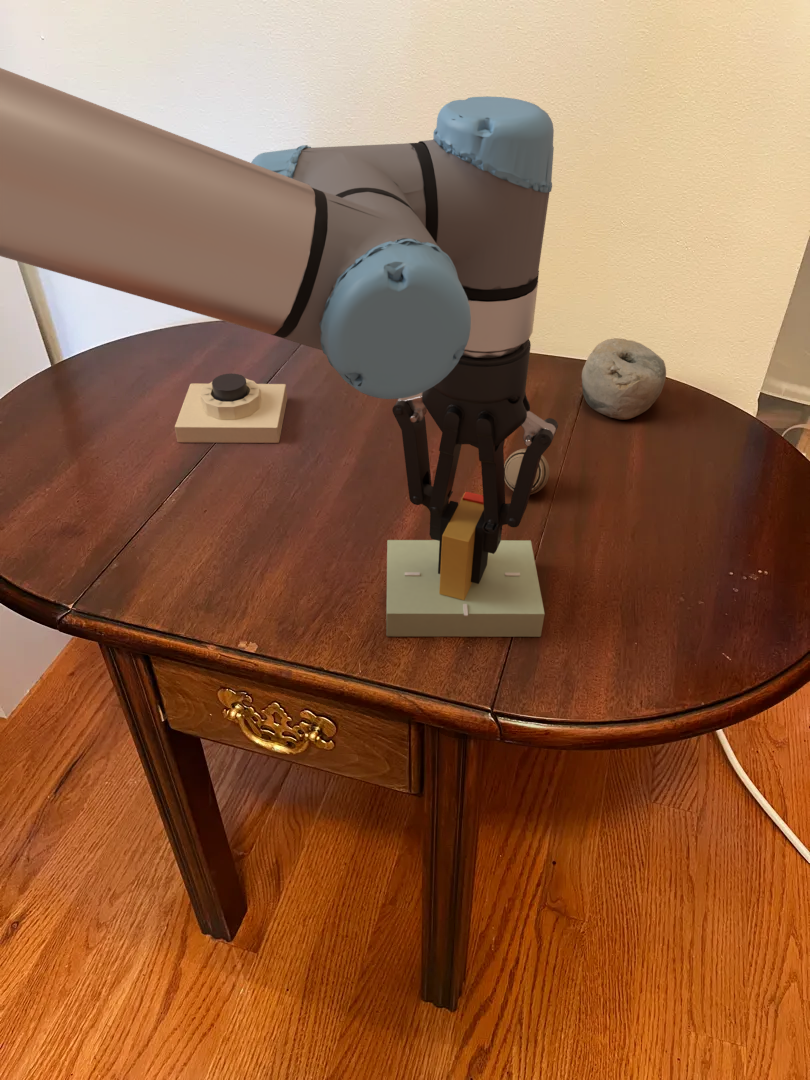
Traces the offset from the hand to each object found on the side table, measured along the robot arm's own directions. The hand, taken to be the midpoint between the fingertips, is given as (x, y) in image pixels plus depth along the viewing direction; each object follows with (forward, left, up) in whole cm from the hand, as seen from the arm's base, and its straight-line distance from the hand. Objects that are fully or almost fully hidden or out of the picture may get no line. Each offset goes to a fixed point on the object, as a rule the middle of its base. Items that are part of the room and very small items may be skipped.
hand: (462, 568), depth 77 cm
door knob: (+8, +17, -4) cm, 19 cm away
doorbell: (-26, +31, -4) cm, 41 cm away
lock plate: (0, 0, -4) cm, 4 cm away
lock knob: (0, 0, -1) cm, 1 cm away
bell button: (-26, +31, 0) cm, 40 cm away
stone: (+22, +35, -4) cm, 42 cm away
